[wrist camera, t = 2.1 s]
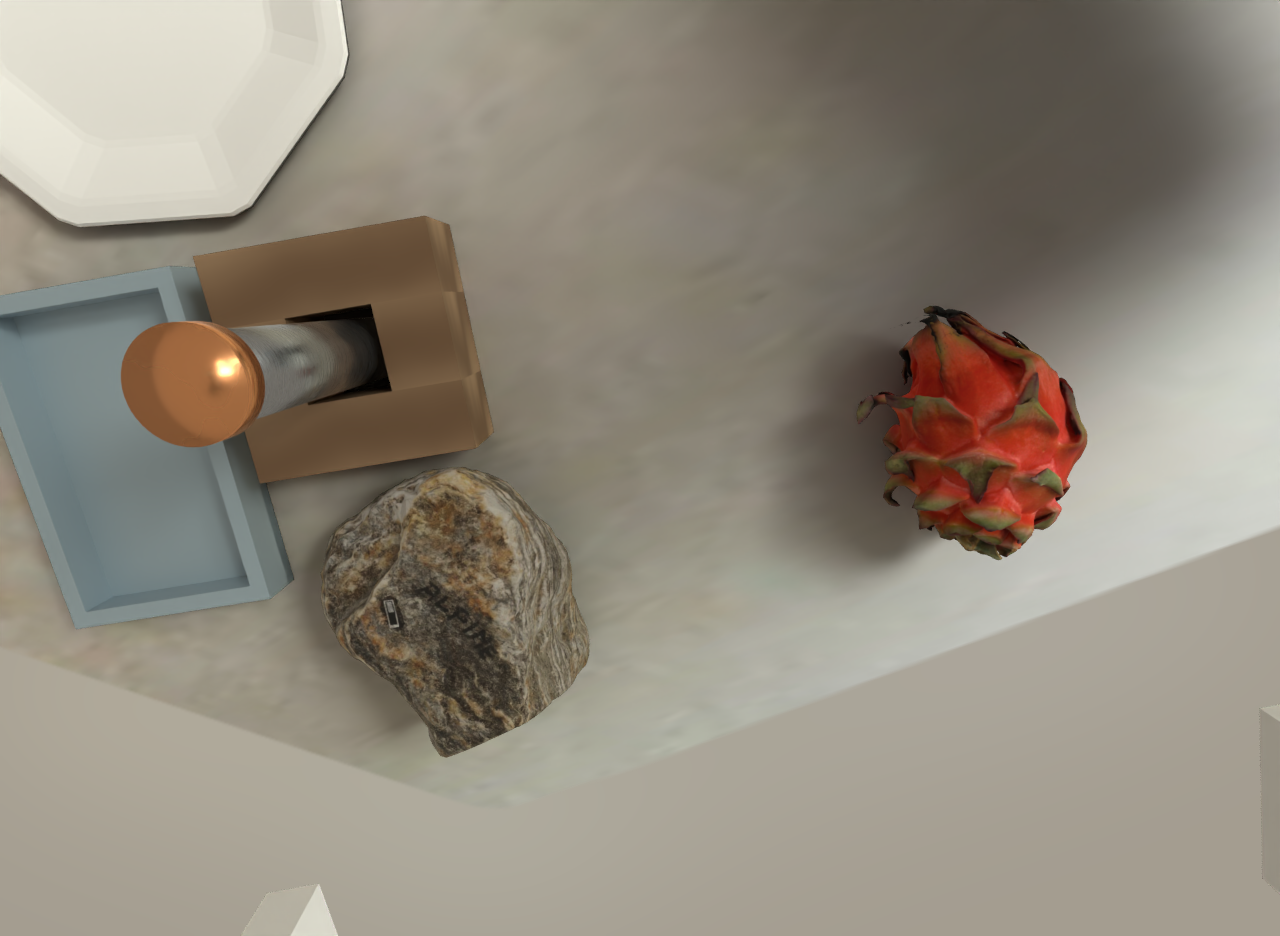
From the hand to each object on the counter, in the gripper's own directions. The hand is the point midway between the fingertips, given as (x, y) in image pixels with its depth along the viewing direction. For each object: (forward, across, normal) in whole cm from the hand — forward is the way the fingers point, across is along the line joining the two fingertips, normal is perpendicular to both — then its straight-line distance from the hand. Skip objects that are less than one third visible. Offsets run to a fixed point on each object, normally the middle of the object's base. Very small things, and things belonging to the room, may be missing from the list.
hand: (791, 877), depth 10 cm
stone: (+28, -12, -4) cm, 30 cm away
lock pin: (+27, -14, +8) cm, 32 cm away
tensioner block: (+27, -14, +8) cm, 32 cm away
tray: (+27, -26, +6) cm, 38 cm away
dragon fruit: (+27, +13, -1) cm, 30 cm away
